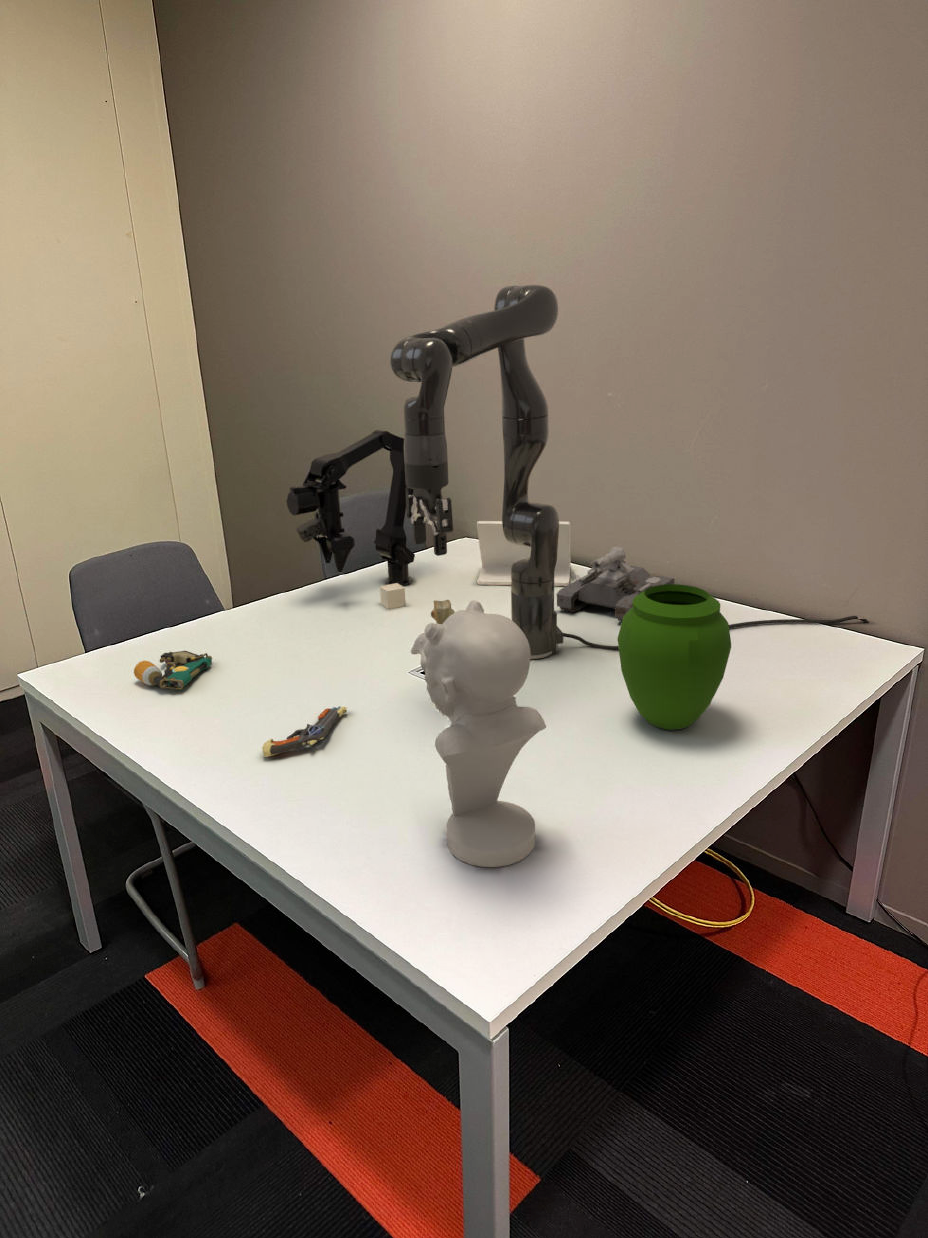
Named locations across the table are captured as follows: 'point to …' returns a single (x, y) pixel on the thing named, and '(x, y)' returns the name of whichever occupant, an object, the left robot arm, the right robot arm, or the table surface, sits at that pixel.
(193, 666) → the spray gun
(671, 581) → the toy
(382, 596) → the beige wooden cube
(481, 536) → the tablet stand
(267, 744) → the toy gun
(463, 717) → the bust sculpture
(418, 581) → the table surface
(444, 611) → the sculpture
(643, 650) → the vase
